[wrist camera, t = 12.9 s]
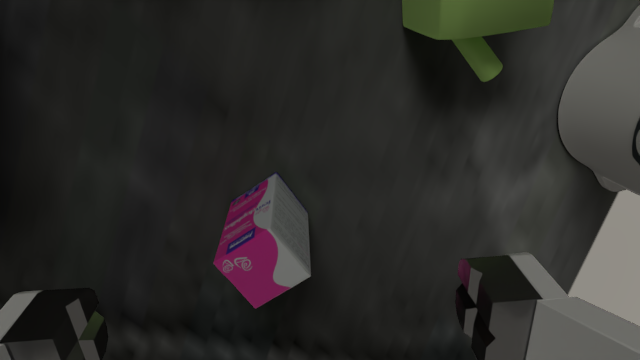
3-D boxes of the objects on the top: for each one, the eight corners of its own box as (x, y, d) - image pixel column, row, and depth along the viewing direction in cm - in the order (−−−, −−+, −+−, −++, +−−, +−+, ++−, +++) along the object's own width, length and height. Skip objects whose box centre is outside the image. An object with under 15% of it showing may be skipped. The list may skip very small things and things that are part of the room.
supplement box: (275, 168, 44) (271, 227, 34) (309, 211, 47) (315, 279, 36) (228, 199, 45) (211, 265, 35) (263, 240, 48) (257, 313, 37)
